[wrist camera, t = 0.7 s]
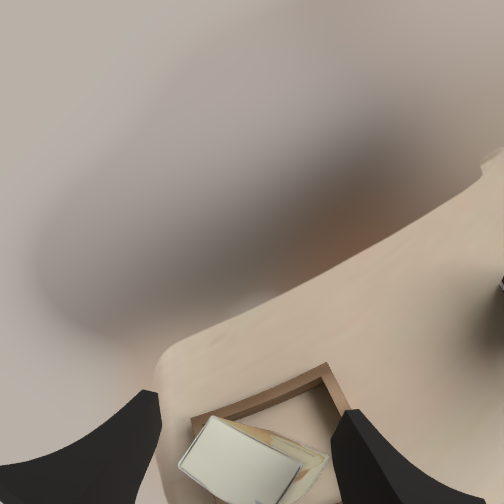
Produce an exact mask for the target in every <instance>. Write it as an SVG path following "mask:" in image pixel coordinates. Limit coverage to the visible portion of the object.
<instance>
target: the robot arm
mask: <svg viewBox="0 0 504 504" xmlns="http://www.w3.org/2000/svg"><path fill="white" fill-rule="evenodd" d="M161 428H162V420H161V414H160V407H159V399H158V393H156V392H151V391H147V390H141V391H140V392H139V393H138V394H137V395H136V396H135V397H134V398H133V399H132V400H130V402H128V403H127V404H126V405H125V406H124V407H123V408H122V409H120V410H119V411H118V412H117V413H116V414H114V416H112V417H111V418H110V419H108V420H107V421H106V422H105V423H103V424H102V425H100V426H99V427H98V428H97V429H95V430H94V431H92V432H91V433H89V434H88V435H86V436H84V437H83V438H82V439H80V440H78V441H76V442H74V443H72V444H71V445H69V446H67V447H64V448H63V449H60V450H58V451H56V452H54V453H51V454H48V455H46V456H42V457H39V458H36V459H33V460H29V461H26V462H21V463H16V464H10V465H2V466H0V501H1V502H2V503H3V504H135V500H136V496H137V493H138V490H139V487H140V485H141V482H142V480H143V478H144V475H145V473H146V470H147V468H148V466H149V463H150V461H151V459H152V456H153V454H154V451H155V449H156V447H157V443H158V440H159V436H160V432H161ZM330 441H331V452H332V461H333V466H334V470H335V474H336V478H337V482H338V486H339V490H340V494H341V499H342V503H343V504H486V502H485V500H484V499H483V498H479V497H475V496H472V495H468V494H465V493H462V492H460V491H457V490H455V489H452V488H450V487H448V486H446V485H444V484H442V483H440V482H438V481H437V480H435V479H433V478H431V477H430V476H428V475H427V474H425V473H424V472H422V471H421V470H420V469H418V468H417V467H415V466H414V465H413V464H412V463H410V462H409V461H408V460H407V459H406V458H405V457H403V456H402V455H401V454H400V453H399V452H398V451H397V450H396V449H395V448H394V447H393V446H392V445H391V444H390V443H389V442H388V441H387V440H386V439H385V438H384V437H383V436H382V435H381V434H380V433H379V431H378V430H377V429H376V428H375V427H374V426H373V425H372V424H371V422H370V421H369V420H368V419H367V418H366V417H365V415H364V414H363V413H362V412H361V411H360V410H359V409H355V410H345V411H344V413H343V416H342V418H341V420H340V422H339V424H338V426H337V428H336V430H335V432H334V434H333V436H332V438H331V440H330Z"/></svg>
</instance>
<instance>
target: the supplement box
mask: <svg viewBox="0 0 504 504" xmlns="http://www.w3.org/2000/svg"><path fill="white" fill-rule="evenodd" d="M500 286H501V288H502V289H503V291H504V277H503V279H502V281H501V282H500Z"/></svg>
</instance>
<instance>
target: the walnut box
mask: <svg viewBox="0 0 504 504" xmlns="http://www.w3.org/2000/svg"><path fill="white" fill-rule="evenodd" d="M322 383H325V385H326V387H327V389H328V391H329V393H330V395H331V397H332V399H333V401H334V403H335V405H336V407H337V409H338V411H339V413H340V415H341V417H342V416H343V413H344V411H345V410H351V408H350V406H349V404H348V402H347V400H346V398H345V396H344V394H343V392H342V390H341V388H340V386H339V384H338V383H337V381H336V379H335V377H334V375H333V373H332V371H331V369H330V367H329V365H328V363H327V362H325V363H323V364H321V365H320V366H318V367H316V368H314V369H312V370H310V371H308V372H306V373H303V374H301V375H299V376H297V377H295V378H293V379H291V380H289V381H287V382H284V383H282V384H280V385H278V386H275V387H273V388H271V389H268V390H266V391H264V392H261V393H259V394H257V395H254V396H252V397H249V398H247V399H244V400H242V401H239V402H236V403H234V404H231V405H228V406H226V407H223V408H220V409H217V410H214V411H211V412H208V413H205V414H202V415H199V416H196V417H193V418H190V419H191V423H192V427H193V430H194V434H195V438H196V437H197V435H198V434H199V433H200V431H201V430H202V428H203V427H204V426H205V424H206V423H207V421H208V420H209V418H210V417H211V416H212V415H213V416H216V417H219V418H223V419H226V420H230V421H235V420H238V419H241V418H243V417H246V416H249V415H251V414H254V413H257V412H259V411H262V410H264V409H267V408H269V407H272V406H274V405H276V404H279V403H281V402H283V401H286V400H288V399H290V398H293V397H295V396H297V395H299V394H301V393H303V392H306V391H308V390H310V389H312V388H314V387H316V386H318V385H320V384H322ZM213 495H214V494H213ZM214 498H215V500H216V503H217V504H228V503H226V502H225V501H223V500H221V499H220V498H218V497H216V496H215V495H214ZM336 504H343V503H342V501H341V502H339V503H336Z"/></svg>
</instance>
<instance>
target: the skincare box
mask: <svg viewBox="0 0 504 504" xmlns="http://www.w3.org/2000/svg"><path fill="white" fill-rule="evenodd" d="M328 459H329V455H327V454H325V453H322V452H320V451H318V450H316V449H313V448H311V447H309V446H307V445H304V444H302V443H300V442H297V441H295V440H293V439H290V438H288V437H286V436H283V435H281V434H279V433H276V432H274V431H269V430H265V429H260V428H256V427H252V426H248V425H244V424H240V423H237V422H233V421H230V420H226V419H223V418H219V417H216V416H213V415H212V416H211V417H210V418H209V420H208V421H207V423H206V424H205V426H204V427H203V428H202V430H201V431H200V433H199V434H198V435H197V437H196V438H195V440H194V441H193V443H192V444H191V446H190V447H189V448H188V450H187V451H186V453H185V454H184V456H183V457H182V459H181V460H180V462H179V463H178V467H179V469H180V470H182V471H183V472H184V473H185V474H187V475H188V476H189V477H190V478H192V479H193V480H194V481H196V482H197V483H198V484H200V485H201V486H203V487H204V488H205V489H207V490H208V491H209V492H211V493H212V494H214V495H215V496H216V497H218V498H220V499H221V500H223V501H225V502H226V503H228V504H292V503H294V502H295V501H296V500H298V499H299V498H300V497H302V496H303V495H304V494H306V493H307V492H308V491H309V490H310V488H311V487H312V485H313V484H314V483H315V481H316V480H317V478H318V477H319V475H320V473H321V472H322V470H323V468H324V467H325V465H326V463H327V461H328Z"/></svg>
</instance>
